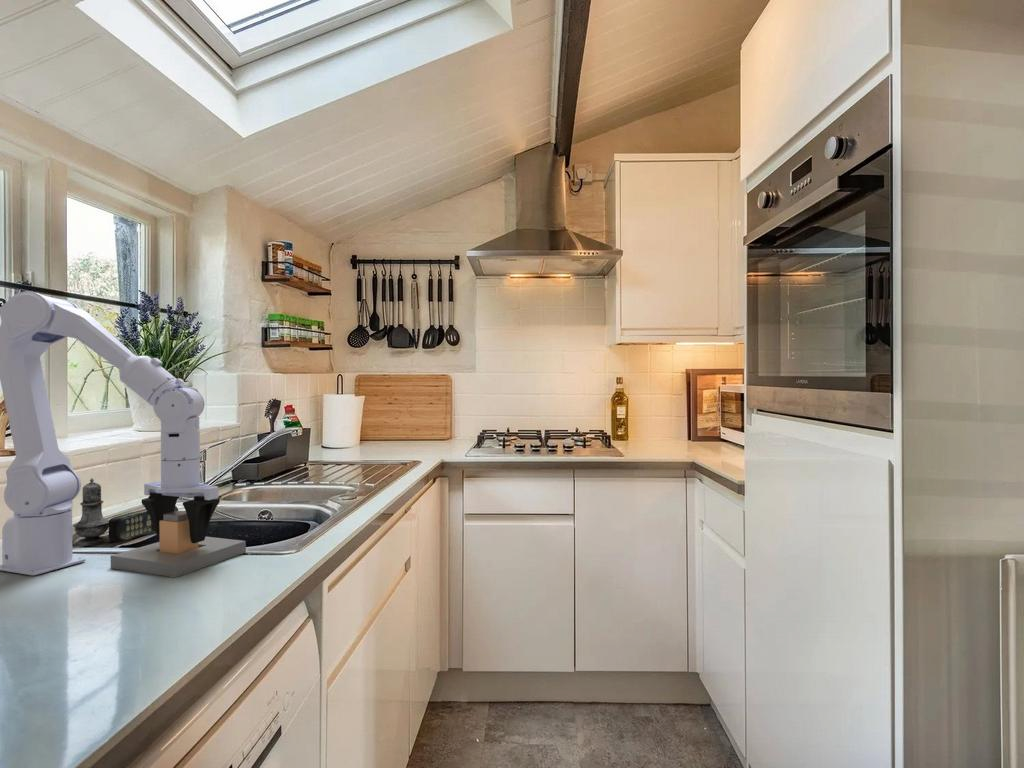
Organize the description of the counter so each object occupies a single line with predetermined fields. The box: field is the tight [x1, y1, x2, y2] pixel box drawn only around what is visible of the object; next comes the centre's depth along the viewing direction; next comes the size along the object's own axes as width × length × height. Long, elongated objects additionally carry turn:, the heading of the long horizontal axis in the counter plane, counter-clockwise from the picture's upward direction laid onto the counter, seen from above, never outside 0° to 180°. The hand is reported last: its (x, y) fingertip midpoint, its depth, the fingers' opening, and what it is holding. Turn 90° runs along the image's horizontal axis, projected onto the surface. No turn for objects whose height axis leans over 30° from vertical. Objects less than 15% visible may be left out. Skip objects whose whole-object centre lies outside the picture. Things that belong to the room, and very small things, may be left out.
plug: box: [159, 509, 198, 554], centre depth 97 cm, size 4×4×8 cm
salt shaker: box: [72, 477, 110, 547], centre depth 109 cm, size 6×6×12 cm
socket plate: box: [110, 536, 247, 578], centre depth 98 cm, size 14×14×2 cm
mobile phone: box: [108, 505, 179, 543], centre depth 116 cm, size 5×3×15 cm
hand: (181, 539), depth 98 cm, fingers open, 7 cm apart
